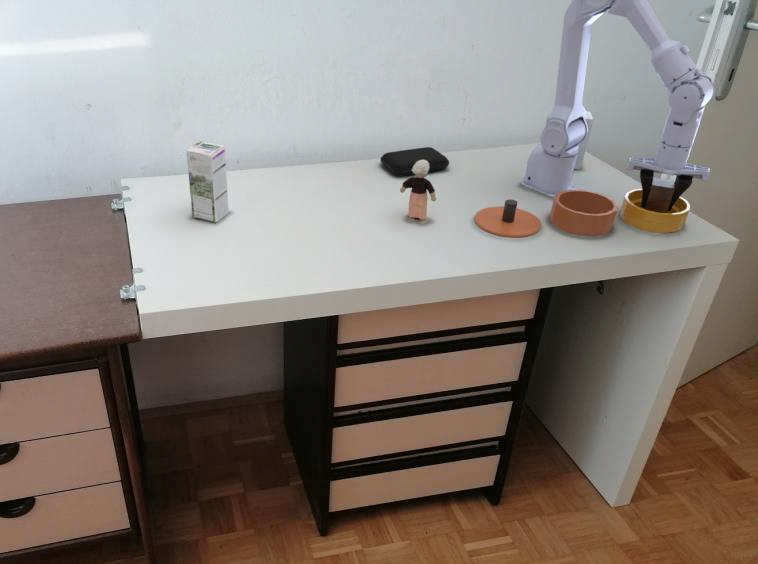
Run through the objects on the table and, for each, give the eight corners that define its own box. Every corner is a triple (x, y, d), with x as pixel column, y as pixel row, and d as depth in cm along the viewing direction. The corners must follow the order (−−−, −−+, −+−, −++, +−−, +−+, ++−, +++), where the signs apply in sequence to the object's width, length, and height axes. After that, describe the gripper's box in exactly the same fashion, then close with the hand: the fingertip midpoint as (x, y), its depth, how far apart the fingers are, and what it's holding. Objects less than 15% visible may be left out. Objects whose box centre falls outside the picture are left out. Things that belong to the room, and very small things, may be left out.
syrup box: (229, 212, 151) (226, 144, 142) (215, 224, 146) (211, 154, 138) (206, 207, 153) (201, 139, 144) (191, 218, 148) (185, 149, 140)
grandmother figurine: (435, 218, 149) (443, 159, 142) (432, 226, 146) (439, 166, 139) (398, 213, 151) (404, 154, 144) (394, 220, 148) (400, 161, 141)
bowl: (607, 218, 150) (613, 198, 148) (639, 203, 156) (645, 183, 154) (662, 241, 143) (670, 220, 140) (694, 223, 149) (701, 203, 146)
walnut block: (641, 217, 148) (652, 185, 144) (642, 209, 151) (652, 177, 147) (664, 221, 146) (675, 188, 142) (663, 212, 150) (674, 180, 146)
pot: (537, 222, 149) (542, 199, 146) (571, 206, 155) (577, 184, 152) (588, 244, 141) (595, 221, 138) (623, 227, 147) (629, 204, 144)
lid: (460, 222, 148) (464, 199, 145) (501, 205, 155) (505, 183, 152) (512, 246, 140) (517, 222, 137) (553, 227, 147) (558, 204, 144)
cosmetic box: (581, 170, 171) (594, 119, 164) (562, 168, 172) (574, 118, 165) (578, 160, 176) (590, 111, 169) (560, 159, 176) (571, 109, 169)
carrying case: (429, 154, 178) (374, 162, 173) (430, 142, 176) (375, 149, 172) (451, 170, 170) (395, 179, 165) (453, 158, 168) (396, 166, 164)
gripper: (635, 144, 139) (616, 209, 147) (719, 155, 135) (695, 221, 143) (636, 132, 144) (617, 195, 152) (716, 142, 140) (693, 207, 148)
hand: (655, 207), depth 148 cm, fingers closed on walnut block, 4 cm apart
